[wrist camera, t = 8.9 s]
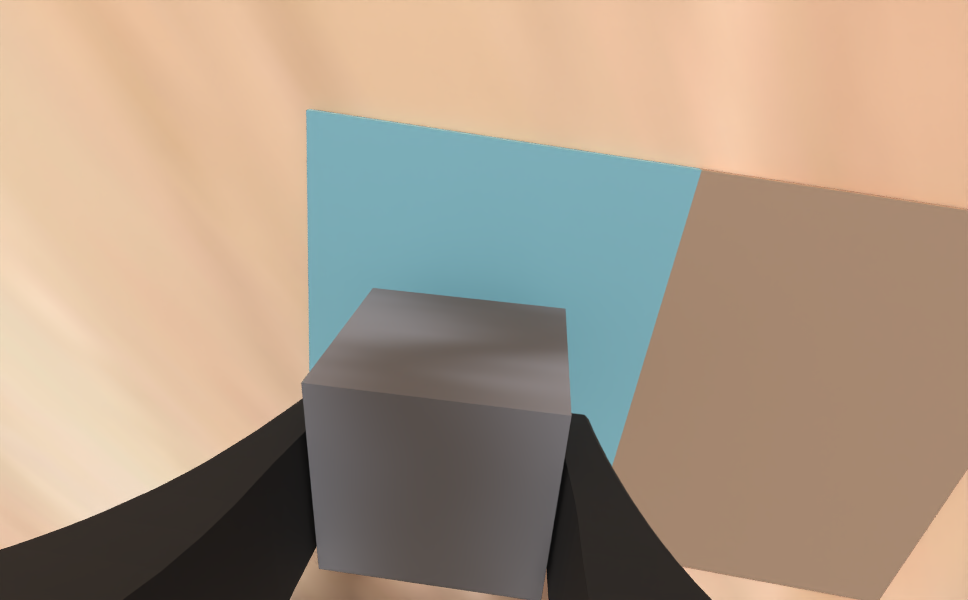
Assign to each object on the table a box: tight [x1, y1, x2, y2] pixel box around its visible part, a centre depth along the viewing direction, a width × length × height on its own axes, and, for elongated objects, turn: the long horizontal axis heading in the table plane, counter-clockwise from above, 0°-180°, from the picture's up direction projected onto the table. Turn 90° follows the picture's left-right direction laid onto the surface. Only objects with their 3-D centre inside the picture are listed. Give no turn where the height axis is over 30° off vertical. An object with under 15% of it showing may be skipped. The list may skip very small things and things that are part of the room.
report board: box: [306, 109, 968, 600], centre depth 15 cm, size 18×12×1 cm, turn 83°
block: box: [301, 288, 572, 600], centre depth 12 cm, size 4×4×4 cm
